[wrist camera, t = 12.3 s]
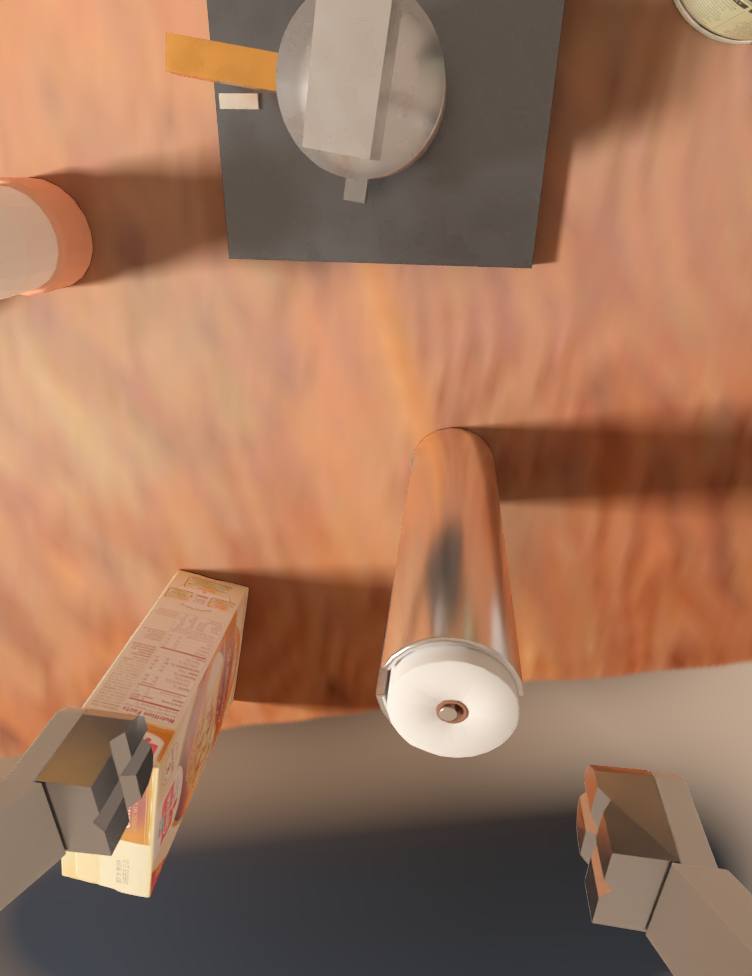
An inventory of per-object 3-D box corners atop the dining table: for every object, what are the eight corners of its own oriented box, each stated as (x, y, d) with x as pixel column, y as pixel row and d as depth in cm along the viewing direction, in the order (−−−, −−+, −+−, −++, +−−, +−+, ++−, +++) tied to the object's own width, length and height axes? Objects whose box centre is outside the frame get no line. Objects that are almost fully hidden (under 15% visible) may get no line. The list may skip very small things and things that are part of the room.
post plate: (575, -118, 32) (594, -165, 28) (529, 265, 41) (537, 276, 37) (206, -108, 34) (169, -150, 30) (236, 255, 43) (210, 265, 38)
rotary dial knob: (466, -13, 31) (470, -76, 23) (425, 213, 35) (416, 224, 28) (192, -62, 31) (105, -139, 23) (188, 168, 36) (114, 167, 28)
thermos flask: (448, 410, 46) (441, 628, 24) (512, 463, 47) (560, 715, 25) (394, 469, 49) (341, 713, 27) (455, 517, 50) (454, 788, 28)
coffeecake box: (234, 701, 63) (150, 901, 46) (167, 684, 63) (57, 877, 46) (252, 586, 56) (161, 770, 39) (176, 566, 56) (50, 742, 39)
